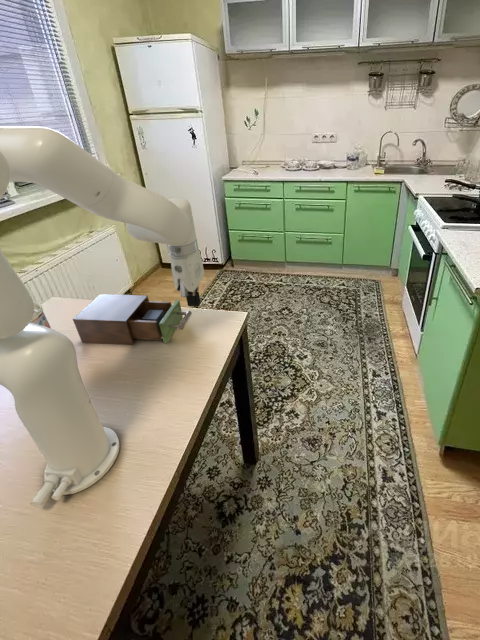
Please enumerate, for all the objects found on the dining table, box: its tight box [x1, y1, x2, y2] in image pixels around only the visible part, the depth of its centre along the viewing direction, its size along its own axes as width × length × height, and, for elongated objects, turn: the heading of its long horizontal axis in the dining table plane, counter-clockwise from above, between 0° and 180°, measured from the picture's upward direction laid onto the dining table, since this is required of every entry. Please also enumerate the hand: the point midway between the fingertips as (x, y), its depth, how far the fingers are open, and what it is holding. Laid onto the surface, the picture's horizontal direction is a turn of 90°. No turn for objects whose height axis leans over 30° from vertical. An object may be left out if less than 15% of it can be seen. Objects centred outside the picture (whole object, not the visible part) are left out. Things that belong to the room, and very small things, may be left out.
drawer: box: [128, 299, 193, 344], centre depth 95 cm, size 19×11×7 cm, turn 85°
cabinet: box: [72, 293, 150, 346], centre depth 96 cm, size 16×13×9 cm
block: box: [142, 310, 164, 331], centre depth 95 cm, size 4×4×4 cm
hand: (194, 304), depth 92 cm, fingers closed
